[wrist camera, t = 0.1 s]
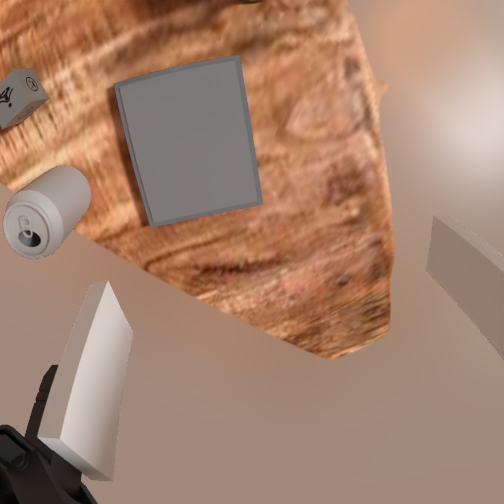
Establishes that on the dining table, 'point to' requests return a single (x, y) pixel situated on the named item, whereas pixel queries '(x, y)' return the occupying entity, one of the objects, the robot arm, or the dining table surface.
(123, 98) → the slate board
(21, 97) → the dice cube
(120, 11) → the dining table surface
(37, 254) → the can
